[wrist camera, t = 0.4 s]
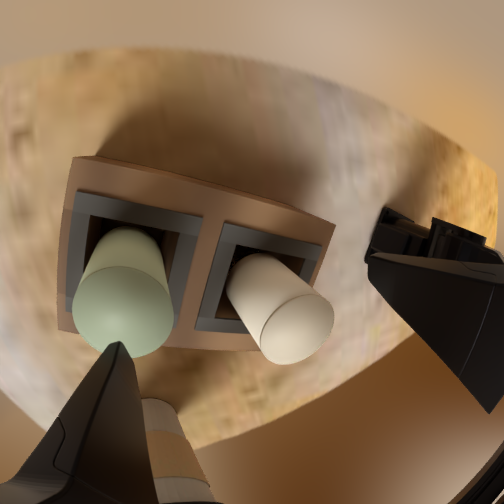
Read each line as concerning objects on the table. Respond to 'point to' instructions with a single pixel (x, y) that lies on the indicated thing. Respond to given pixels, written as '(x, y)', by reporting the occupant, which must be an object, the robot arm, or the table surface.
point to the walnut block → (184, 242)
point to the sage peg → (124, 294)
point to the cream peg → (279, 308)
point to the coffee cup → (173, 458)
